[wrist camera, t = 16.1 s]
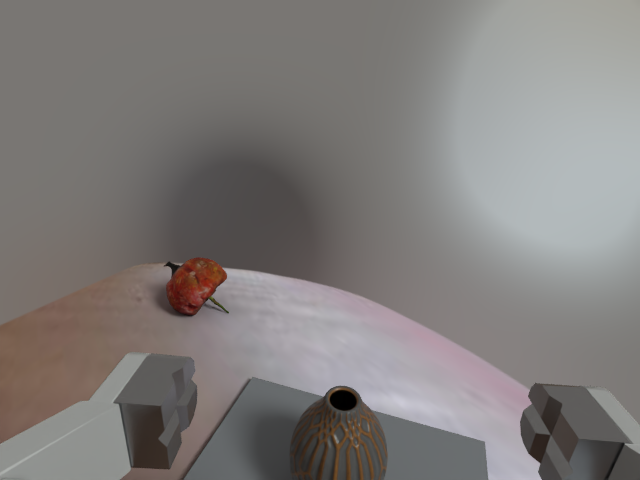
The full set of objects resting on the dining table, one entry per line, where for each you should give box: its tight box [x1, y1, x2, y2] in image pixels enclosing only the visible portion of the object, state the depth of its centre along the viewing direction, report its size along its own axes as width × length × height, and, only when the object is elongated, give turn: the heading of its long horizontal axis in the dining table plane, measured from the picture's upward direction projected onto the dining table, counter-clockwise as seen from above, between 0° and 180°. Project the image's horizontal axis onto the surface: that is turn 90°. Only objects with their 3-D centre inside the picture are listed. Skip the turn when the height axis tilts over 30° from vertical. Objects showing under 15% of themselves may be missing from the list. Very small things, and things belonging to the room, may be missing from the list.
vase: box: [290, 386, 388, 480], centre depth 27 cm, size 7×7×9 cm
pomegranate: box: [164, 258, 229, 315], centre depth 49 cm, size 7×7×10 cm
